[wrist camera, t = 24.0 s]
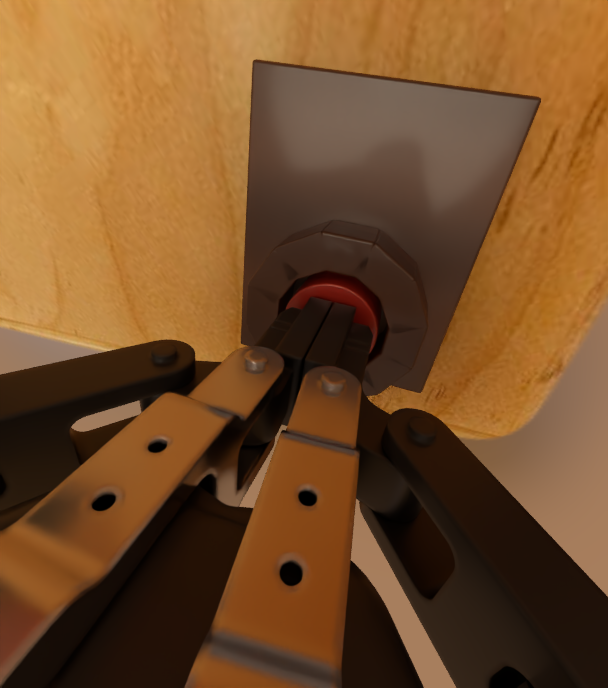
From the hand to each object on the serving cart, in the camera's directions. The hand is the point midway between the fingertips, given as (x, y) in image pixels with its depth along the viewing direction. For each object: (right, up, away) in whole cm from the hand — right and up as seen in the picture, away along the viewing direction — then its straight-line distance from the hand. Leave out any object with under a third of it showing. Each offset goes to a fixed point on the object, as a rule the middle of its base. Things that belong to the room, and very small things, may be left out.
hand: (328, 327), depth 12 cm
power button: (0, +1, +1) cm, 2 cm away
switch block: (+1, +4, +3) cm, 5 cm away
